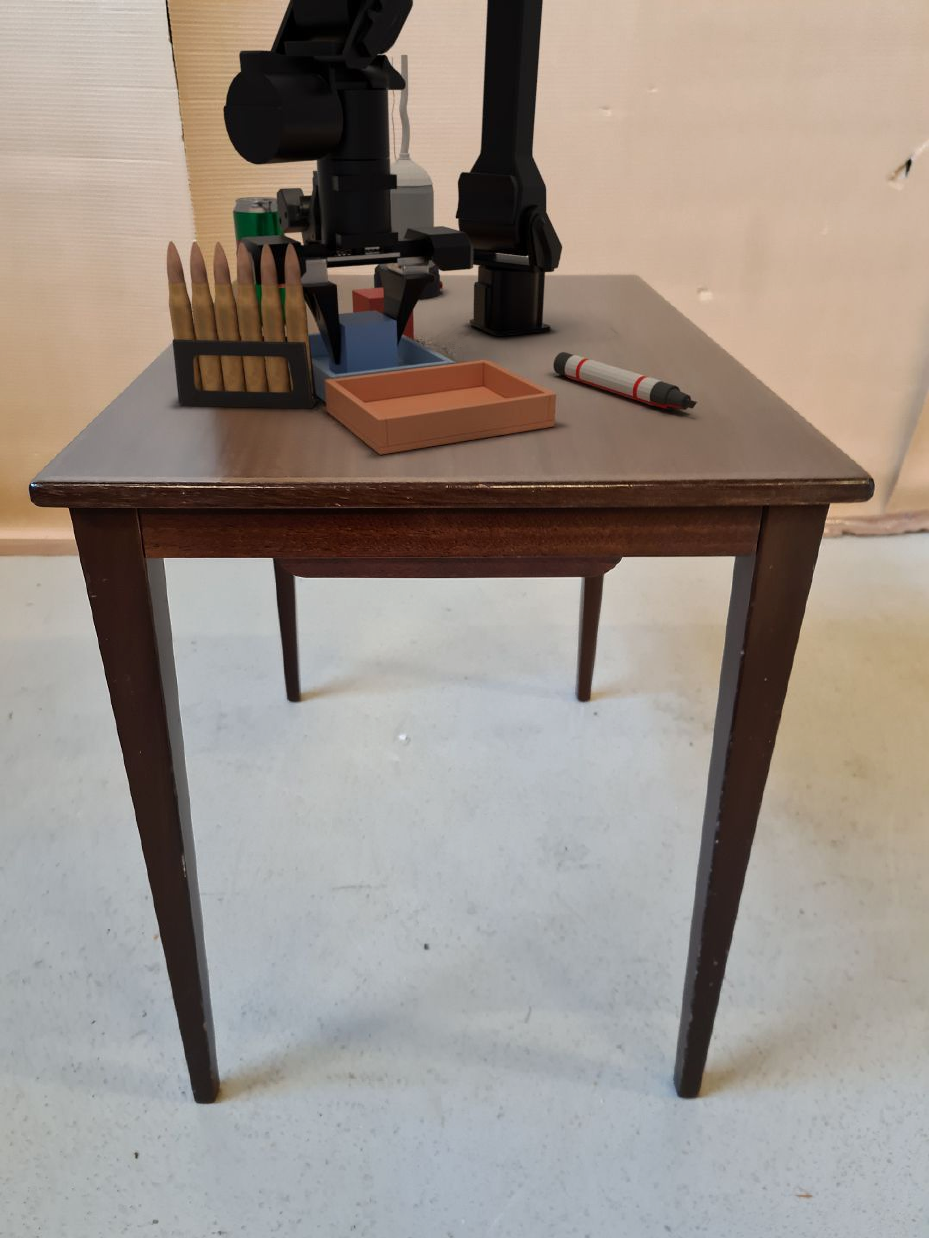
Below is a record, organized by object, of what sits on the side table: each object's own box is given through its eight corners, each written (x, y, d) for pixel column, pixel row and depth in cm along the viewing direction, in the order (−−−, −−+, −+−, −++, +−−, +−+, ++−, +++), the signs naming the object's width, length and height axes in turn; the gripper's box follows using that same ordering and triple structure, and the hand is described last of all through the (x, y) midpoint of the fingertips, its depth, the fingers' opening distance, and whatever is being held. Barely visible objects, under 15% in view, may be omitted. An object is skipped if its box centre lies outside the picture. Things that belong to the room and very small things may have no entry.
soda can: (282, 327, 95) (270, 202, 89) (237, 324, 96) (222, 201, 89) (299, 317, 99) (289, 197, 93) (255, 314, 100) (243, 196, 94)
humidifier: (454, 293, 112) (455, 55, 99) (407, 302, 106) (402, 53, 94) (407, 284, 116) (402, 56, 104) (360, 293, 111) (349, 54, 98)
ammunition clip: (178, 405, 71) (153, 243, 65) (185, 398, 73) (162, 239, 67) (313, 408, 71) (300, 245, 65) (317, 401, 73) (305, 241, 66)
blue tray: (388, 352, 86) (387, 326, 85) (455, 391, 75) (455, 361, 74) (278, 365, 82) (276, 337, 81) (332, 408, 71) (330, 376, 70)
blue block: (377, 363, 81) (375, 310, 79) (398, 375, 77) (396, 320, 75) (329, 369, 79) (325, 315, 77) (348, 382, 76) (344, 326, 73)
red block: (395, 333, 93) (394, 286, 91) (414, 342, 90) (413, 294, 87) (354, 337, 91) (351, 290, 89) (371, 347, 88) (369, 298, 86)
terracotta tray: (486, 389, 76) (486, 359, 75) (554, 426, 68) (556, 393, 66) (326, 411, 70) (324, 379, 69) (379, 455, 62) (378, 419, 61)
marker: (552, 376, 80) (553, 353, 79) (568, 372, 81) (570, 350, 80) (686, 420, 69) (690, 395, 68) (703, 416, 70) (707, 391, 69)
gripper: (419, 150, 80) (421, 330, 88) (208, 154, 72) (231, 350, 80) (478, 158, 71) (474, 357, 79) (245, 163, 64) (267, 382, 72)
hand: (362, 360), depth 78 cm, fingers closed on blue block, 4 cm apart
